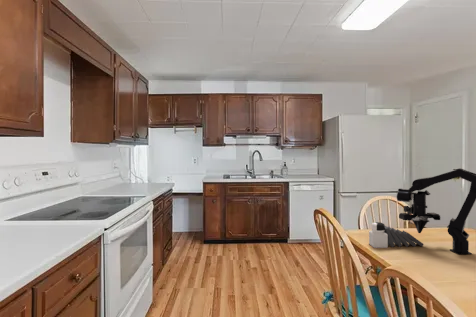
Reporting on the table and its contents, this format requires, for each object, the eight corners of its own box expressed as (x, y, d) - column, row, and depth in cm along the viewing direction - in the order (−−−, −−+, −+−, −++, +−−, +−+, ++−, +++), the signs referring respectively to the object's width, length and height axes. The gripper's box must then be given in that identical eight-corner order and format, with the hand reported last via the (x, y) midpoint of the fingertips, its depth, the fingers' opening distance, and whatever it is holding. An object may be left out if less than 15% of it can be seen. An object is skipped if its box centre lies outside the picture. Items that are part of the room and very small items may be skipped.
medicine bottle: (382, 243, 167) (382, 221, 166) (387, 248, 160) (387, 224, 159) (368, 243, 167) (368, 221, 167) (373, 247, 160) (373, 224, 160)
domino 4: (416, 244, 161) (402, 231, 161) (414, 246, 161) (400, 233, 161) (411, 241, 166) (397, 229, 166) (409, 243, 166) (395, 231, 166)
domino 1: (394, 246, 161) (389, 227, 161) (391, 247, 161) (386, 228, 161) (390, 243, 166) (384, 225, 166) (387, 244, 166) (381, 226, 166)
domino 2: (402, 245, 161) (392, 228, 161) (399, 247, 161) (389, 230, 161) (397, 242, 166) (388, 226, 166) (394, 244, 166) (385, 227, 166)
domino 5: (423, 244, 161) (408, 232, 161) (422, 246, 161) (406, 235, 161) (418, 241, 166) (403, 230, 166) (416, 243, 166) (401, 232, 166)
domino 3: (409, 245, 161) (396, 230, 161) (406, 247, 161) (394, 232, 161) (404, 242, 166) (392, 227, 166) (401, 244, 166) (389, 229, 166)
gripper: (427, 200, 171) (427, 228, 172) (393, 200, 171) (393, 229, 171) (441, 203, 160) (441, 234, 160) (404, 204, 160) (404, 234, 160)
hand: (419, 232), depth 163 cm, fingers closed
